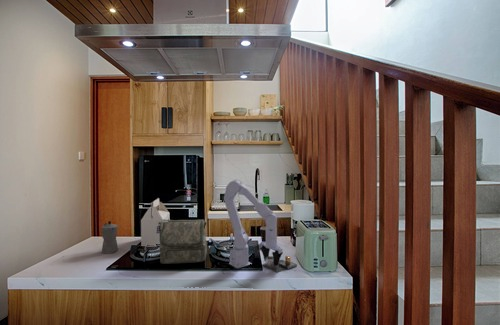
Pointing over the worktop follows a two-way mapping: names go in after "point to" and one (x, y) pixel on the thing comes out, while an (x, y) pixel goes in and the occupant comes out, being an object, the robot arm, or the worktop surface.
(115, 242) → the coffeepot
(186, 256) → the lunch bag
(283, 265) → the doorknob
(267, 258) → the ring
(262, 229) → the coffee mug
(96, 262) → the worktop surface
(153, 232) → the gable box
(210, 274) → the worktop surface
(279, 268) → the mat
